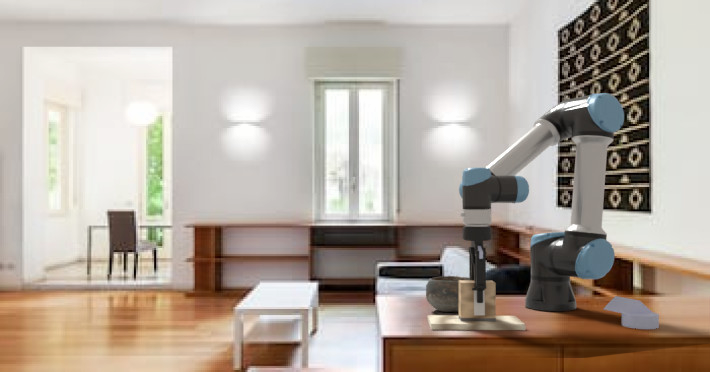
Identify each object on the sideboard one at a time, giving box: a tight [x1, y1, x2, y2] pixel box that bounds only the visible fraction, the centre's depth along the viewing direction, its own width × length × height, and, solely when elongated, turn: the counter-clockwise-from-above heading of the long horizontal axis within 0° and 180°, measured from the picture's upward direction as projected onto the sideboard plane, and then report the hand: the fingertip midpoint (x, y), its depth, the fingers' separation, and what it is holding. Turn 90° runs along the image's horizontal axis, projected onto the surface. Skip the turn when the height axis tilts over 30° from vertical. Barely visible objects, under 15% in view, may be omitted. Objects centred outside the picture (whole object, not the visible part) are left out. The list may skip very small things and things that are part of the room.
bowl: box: [425, 275, 469, 313], centre depth 188 cm, size 14×15×10 cm
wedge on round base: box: [603, 295, 660, 330], centre depth 168 cm, size 9×7×13 cm
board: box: [426, 314, 527, 331], centre depth 167 cm, size 24×12×2 cm, turn 88°
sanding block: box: [458, 280, 497, 321], centre depth 167 cm, size 9×5×10 cm, turn 88°
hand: (477, 312), depth 167 cm, fingers closed on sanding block, 5 cm apart
